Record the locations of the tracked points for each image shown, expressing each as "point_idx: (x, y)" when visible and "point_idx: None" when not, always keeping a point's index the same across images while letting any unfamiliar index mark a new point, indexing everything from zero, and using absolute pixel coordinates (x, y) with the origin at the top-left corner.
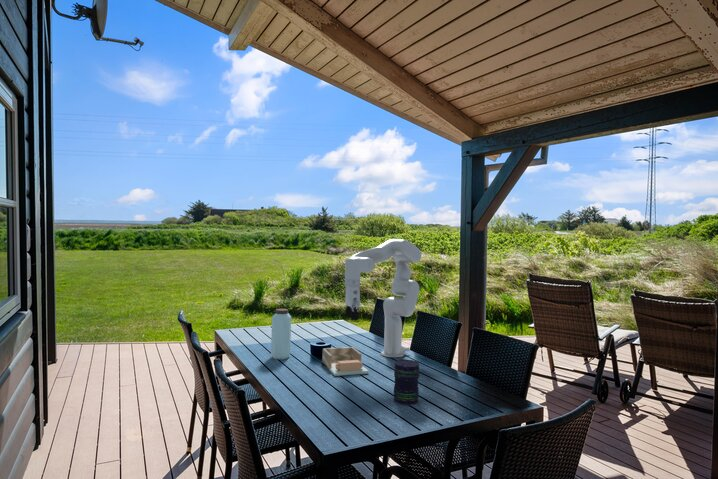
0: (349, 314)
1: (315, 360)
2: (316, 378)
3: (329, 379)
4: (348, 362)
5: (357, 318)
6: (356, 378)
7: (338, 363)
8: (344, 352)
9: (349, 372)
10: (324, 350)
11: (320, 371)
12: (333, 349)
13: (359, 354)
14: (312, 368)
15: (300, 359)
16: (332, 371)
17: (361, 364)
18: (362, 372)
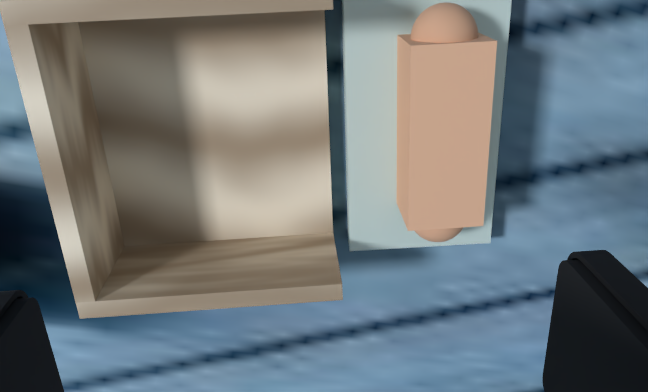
0: (33, 381)
1: (57, 291)
2: (481, 335)
3: (525, 270)
4: (476, 157)
5: (614, 272)
6: (570, 94)
7: (451, 232)
8: (66, 97)
9: (498, 135)
10: (149, 312)
11: (345, 296)
12: (80, 222)
13: (331, 9)
14: (266, 333)
15: None
16: (431, 244)
17: (476, 26)
18: (506, 23)
